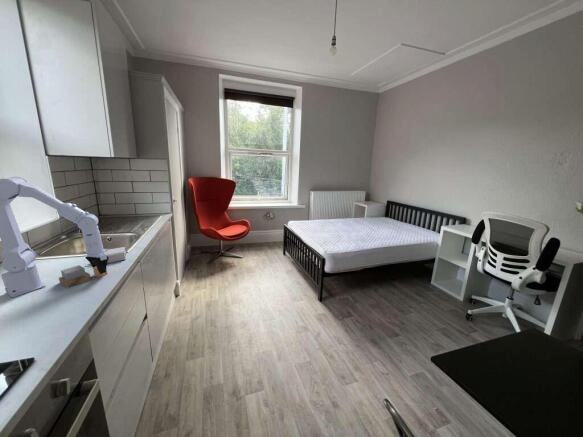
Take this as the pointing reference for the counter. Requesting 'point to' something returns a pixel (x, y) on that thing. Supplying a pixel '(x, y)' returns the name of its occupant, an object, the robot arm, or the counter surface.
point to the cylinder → (98, 272)
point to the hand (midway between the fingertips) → (100, 271)
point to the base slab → (74, 280)
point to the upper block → (73, 272)
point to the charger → (116, 254)
